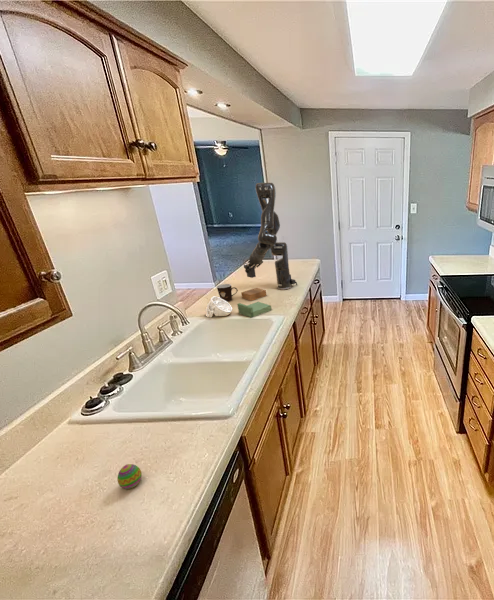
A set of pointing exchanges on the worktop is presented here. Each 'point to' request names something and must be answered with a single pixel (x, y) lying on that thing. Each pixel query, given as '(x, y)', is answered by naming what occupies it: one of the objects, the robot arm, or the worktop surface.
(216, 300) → the skull bowl
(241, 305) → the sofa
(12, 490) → the worktop surface
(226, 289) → the coffee mug
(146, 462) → the worktop surface
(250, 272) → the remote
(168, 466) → the worktop surface
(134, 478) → the egg
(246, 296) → the brown wooden block
